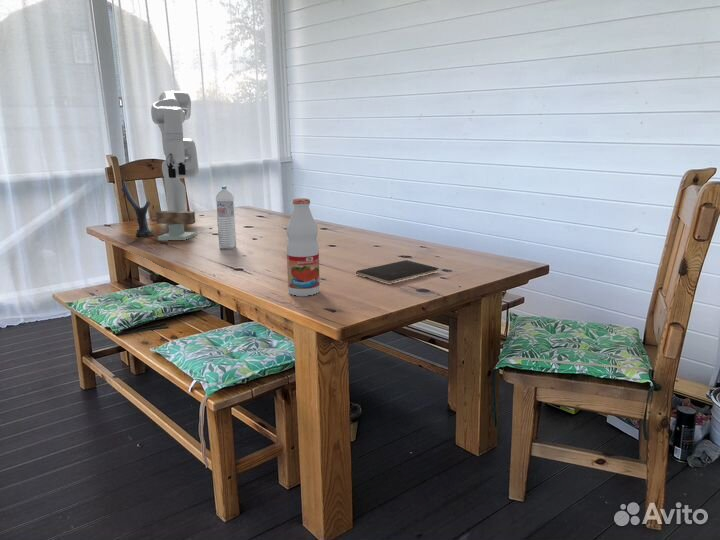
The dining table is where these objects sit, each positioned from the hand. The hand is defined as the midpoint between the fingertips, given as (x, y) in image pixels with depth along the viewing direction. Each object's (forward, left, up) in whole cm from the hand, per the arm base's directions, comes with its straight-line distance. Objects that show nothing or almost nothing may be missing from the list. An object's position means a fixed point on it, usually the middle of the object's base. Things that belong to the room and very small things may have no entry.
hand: (177, 176), depth 260 cm
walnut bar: (+11, +3, -20) cm, 22 cm away
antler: (+9, -15, -26) cm, 32 cm away
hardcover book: (+61, +104, -27) cm, 123 cm away
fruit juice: (+86, +78, -26) cm, 119 cm away
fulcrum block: (+11, +3, -26) cm, 28 cm away
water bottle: (+29, +33, -26) cm, 51 cm away
